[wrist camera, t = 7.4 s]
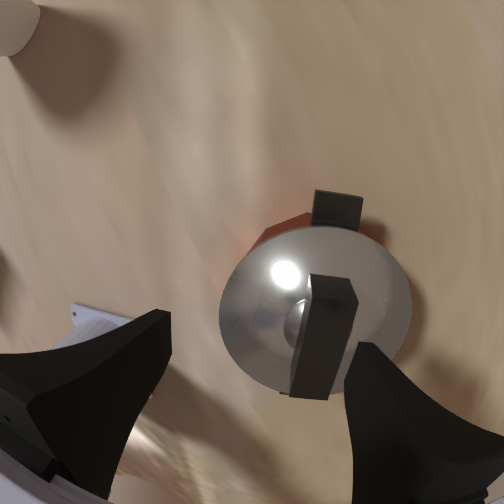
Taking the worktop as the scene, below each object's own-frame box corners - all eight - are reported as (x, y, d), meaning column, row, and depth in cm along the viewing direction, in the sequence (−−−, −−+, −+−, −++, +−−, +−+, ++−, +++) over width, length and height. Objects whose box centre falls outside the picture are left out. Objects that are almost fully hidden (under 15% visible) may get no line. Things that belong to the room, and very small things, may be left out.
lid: (376, 393, 19) (385, 428, 15) (218, 376, 20) (205, 411, 16) (430, 240, 15) (458, 261, 11) (228, 211, 16) (211, 226, 13)
